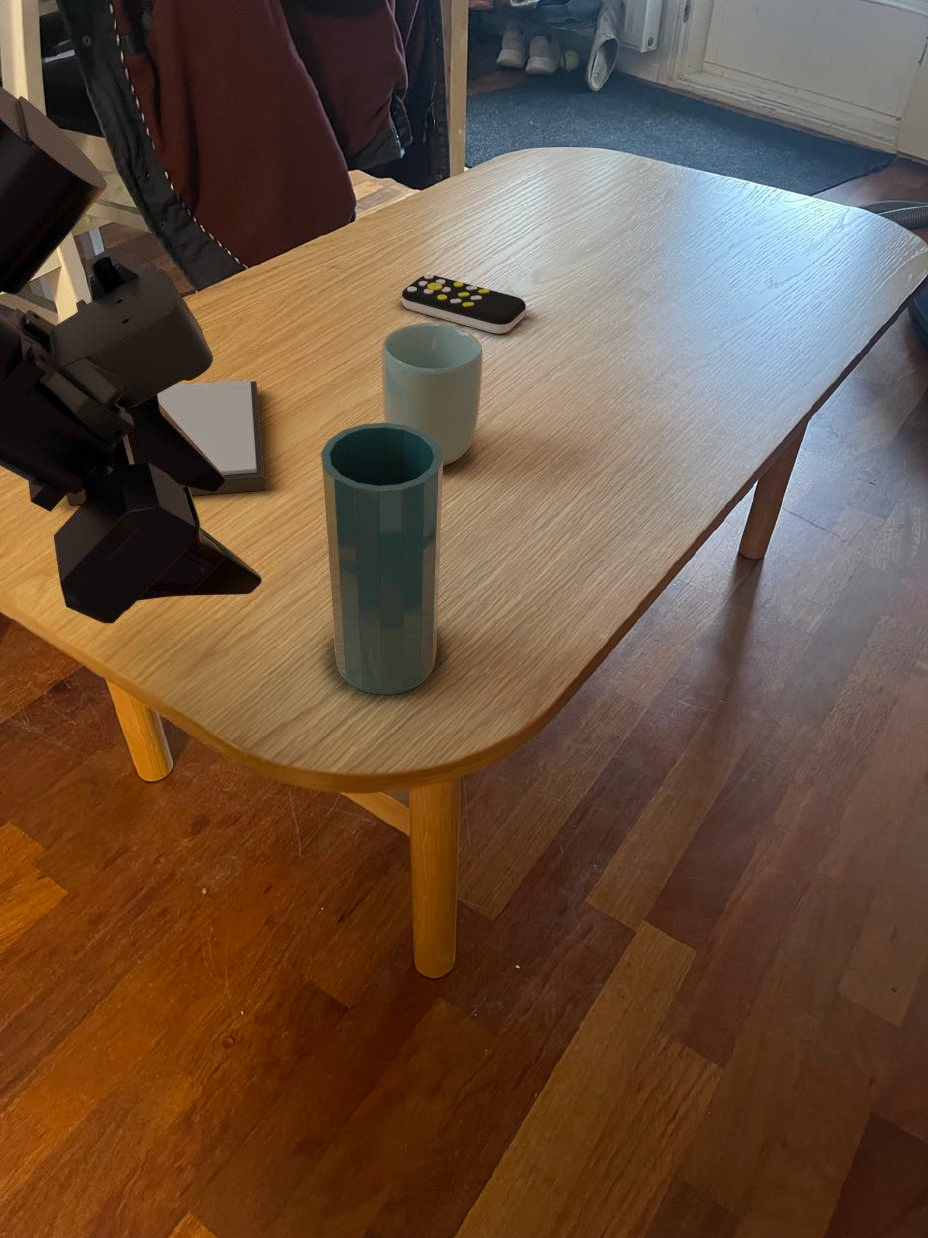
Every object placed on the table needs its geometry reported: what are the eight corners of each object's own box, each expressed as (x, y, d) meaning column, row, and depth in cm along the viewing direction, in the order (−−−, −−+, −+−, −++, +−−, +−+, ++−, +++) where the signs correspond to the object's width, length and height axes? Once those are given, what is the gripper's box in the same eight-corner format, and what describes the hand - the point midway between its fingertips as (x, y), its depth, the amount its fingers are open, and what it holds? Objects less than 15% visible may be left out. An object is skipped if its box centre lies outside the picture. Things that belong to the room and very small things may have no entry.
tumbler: (341, 700, 60) (327, 495, 49) (331, 628, 65) (316, 426, 54) (443, 688, 61) (452, 485, 50) (426, 619, 66) (431, 418, 55)
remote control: (504, 338, 96) (506, 319, 95) (396, 308, 100) (396, 290, 99) (529, 314, 100) (531, 296, 99) (424, 286, 104) (424, 269, 103)
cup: (366, 448, 81) (362, 339, 74) (436, 419, 85) (439, 313, 78) (423, 491, 77) (425, 380, 70) (494, 458, 80) (502, 350, 74)
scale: (68, 505, 73) (63, 486, 72) (86, 404, 84) (81, 386, 82) (265, 490, 76) (263, 471, 74) (257, 394, 86) (255, 376, 85)
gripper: (101, 326, 32) (396, 534, 43) (55, 149, 44) (294, 346, 55) (-89, 547, 35) (235, 689, 46) (-82, 322, 47) (172, 476, 58)
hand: (237, 532), depth 51 cm, fingers open, 9 cm apart
